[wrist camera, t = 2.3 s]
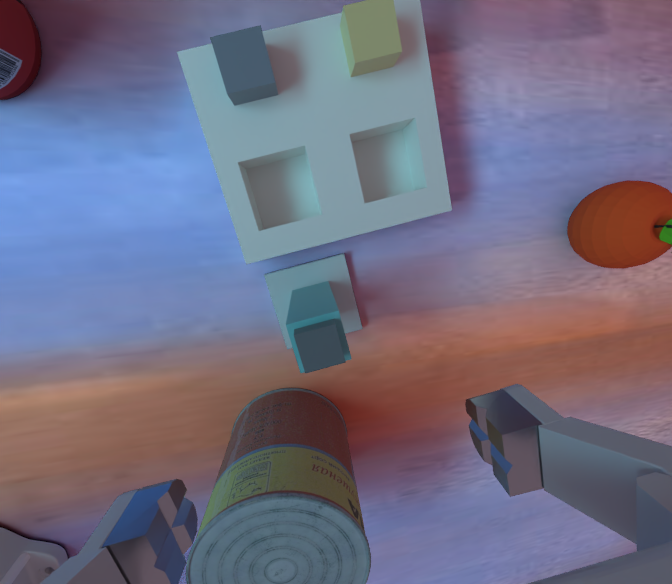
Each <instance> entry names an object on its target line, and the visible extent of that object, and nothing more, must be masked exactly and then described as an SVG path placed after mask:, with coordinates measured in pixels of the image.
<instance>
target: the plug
mask: <svg viewBox="0 0 672 584" xmlns="http://www.w3.org/2000/svg"><path fill="white" fill-rule="evenodd" d="M286 327H287V331H288V334H289V337H290V340H291V344H292V347H293V350H294V353H295V356H296V360H297V363H298V366H299V369H300V373H303V372H305V373H309V372H312V371H316V370H320V369H323V368H327V367H330V366H334V365H338V364H341V363H345V361H346V360H350V359H351V355H350V351H349V347H348V344H347V340H346V336H345V332H344V328H343V325H342V321H341V317H340V313H339V310H338V307H337V304H336V301H335V299H334V296H333V293H332V290H331V287H330V285H329V282H328V281H326V282H322V283H318V284H315V285H311V286H307V287H303V288H300V289H296V290H292V294H291V299H290V305H289V310H288V315H287V321H286Z"/></svg>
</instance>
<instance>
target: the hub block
mask: <svg viewBox="0 0 672 584" xmlns="http://www.w3.org/2000/svg"><path fill="white" fill-rule="evenodd" d="M210 39H211V42H212V44H208V45H204V46H199V47H195V48H191V49H187V50H183V51H179V52H177V54H178V57H179V60H180V63H181V66H182V69H183V72H184V75H185V78H186V81H187V84H188V87H189V90H190V93H191V96H192V99H193V102H194V106H195V109H196V112H197V115H198V118H199V121H200V124H201V127H202V130H203V133H204V136H205V139H206V142H207V145H208V148H209V151H210V155H211V158H212V161H213V164H214V167H215V170H216V173H217V176H218V179H219V182H220V185H221V188H222V191H223V194H224V197H225V200H226V204H227V207H228V210H229V213H230V216H231V219H232V222H233V225H234V228H235V231H236V234H237V237H238V240H239V243H240V246H241V249H242V253H243V256H244V259H245V262H246V264H250V263H254V262H258V261H261V260H265V259H269V258H273V257H277V256H280V255H284V254H288V253H292V252H296V251H299V250H303V249H307V248H311V247H315V246H318V245H322V244H326V243H330V242H334V241H337V240H341V239H345V238H349V237H353V236H356V235H360V234H364V233H368V232H372V231H375V230H379V229H383V228H387V227H391V226H394V225H398V224H402V223H406V222H410V221H413V220H417V219H421V218H425V217H429V216H432V215H436V214H440V213H444V212H448V211H451V210H452V207H451V200H450V194H449V187H448V180H447V174H446V167H445V161H444V154H443V148H442V141H441V135H440V128H439V122H438V115H437V109H436V102H435V96H434V89H433V83H432V76H431V70H430V63H429V56H428V50H427V43H426V37H425V30H424V24H423V17H422V11H421V4H420V0H366V1H361V2H357V3H353V4H349V5H345V6H343V11H342V13H338V14H334V15H330V16H325V17H321V18H317V19H313V20H309V21H304V22H300V23H296V24H292V25H288V26H283V27H279V28H275V29H271V30H267V31H262V29H261V25H260V26H256V27H252V28H248V29H244V30H239V31H235V32H231V33H227V34H223V35H218V36H214V37H210Z"/></svg>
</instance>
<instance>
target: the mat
mask: <svg viewBox="0 0 672 584" xmlns="http://www.w3.org/2000/svg"><path fill="white" fill-rule="evenodd" d="M264 277H265V280H266V283H267V286H268V289H269V292H270V296H271V299H272V302H273V305H274V308H275V311H276V315H277V318H278V321H279V324H280V327H281V330H282V334H283V337H284V340H285V343H286V346H287V349H291V348H293V347H292V344H291V340H290V337H289V334H288V331H287V327H286V321H287V315H288V310H289V305H290V299H291V294H292V290H296V289H300V288H303V287H307V286H311V285H315V284H318V283H322V282H326V281H328V282H329V285H330V287H331V290H332V293H333V296H334V299H335V301H336V304H337V307H338V310H339V313H340V317H341V321H342V325H343V328H344V332H345V333H349V332H353V331H356V330H360V329H362V325H361V321H360V317H359V313H358V309H357V304H356V300H355V296H354V292H353V288H352V284H351V280H350V276H349V272H348V268H347V264H346V260H345V256H344V253H342V254H338V255H335V256H331V257H327V258H323V259H320V260H316V261H312V262H308V263H304V264H301V265H297V266H293V267H289V268H286V269H282V270H278V271H274V272H270V273H267V274H265V275H264Z"/></svg>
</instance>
